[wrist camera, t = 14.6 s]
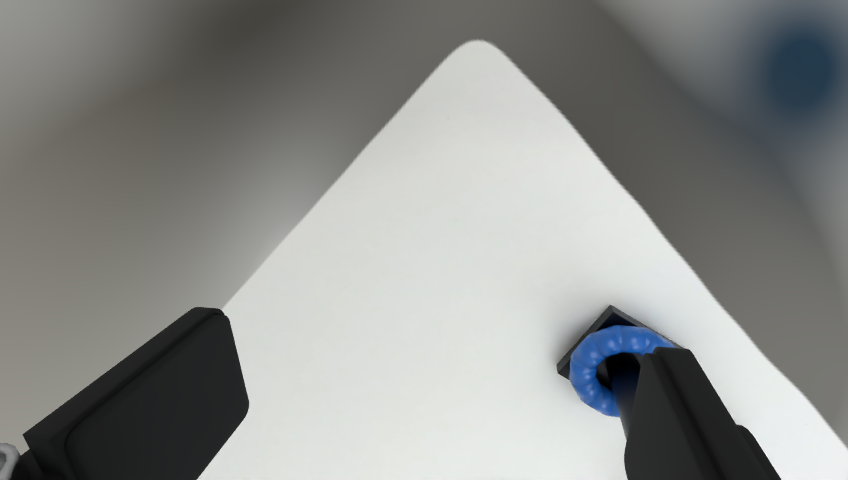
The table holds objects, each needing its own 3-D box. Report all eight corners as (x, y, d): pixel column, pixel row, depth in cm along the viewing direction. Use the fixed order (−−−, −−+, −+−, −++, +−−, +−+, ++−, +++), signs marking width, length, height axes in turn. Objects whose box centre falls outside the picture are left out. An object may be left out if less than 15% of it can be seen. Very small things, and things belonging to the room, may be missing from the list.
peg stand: (556, 365, 40) (568, 463, 30) (610, 304, 37) (644, 391, 27) (628, 407, 40) (664, 520, 30) (689, 351, 37) (752, 456, 27)
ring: (548, 372, 39) (549, 388, 37) (610, 302, 36) (616, 315, 34) (631, 421, 39) (637, 440, 37) (702, 356, 36) (713, 373, 34)
